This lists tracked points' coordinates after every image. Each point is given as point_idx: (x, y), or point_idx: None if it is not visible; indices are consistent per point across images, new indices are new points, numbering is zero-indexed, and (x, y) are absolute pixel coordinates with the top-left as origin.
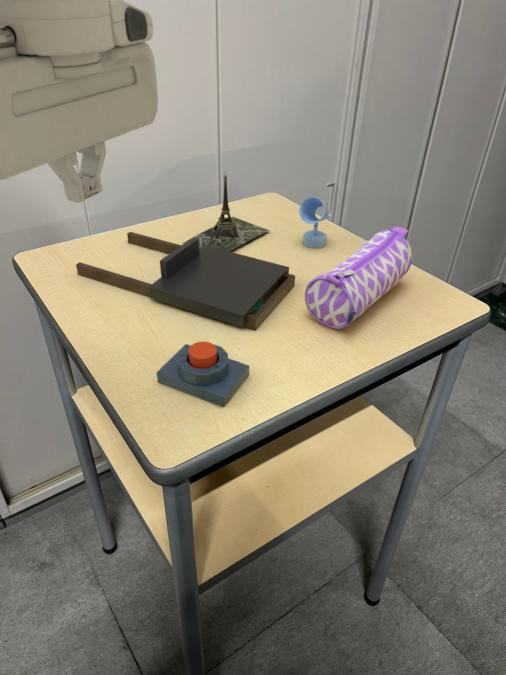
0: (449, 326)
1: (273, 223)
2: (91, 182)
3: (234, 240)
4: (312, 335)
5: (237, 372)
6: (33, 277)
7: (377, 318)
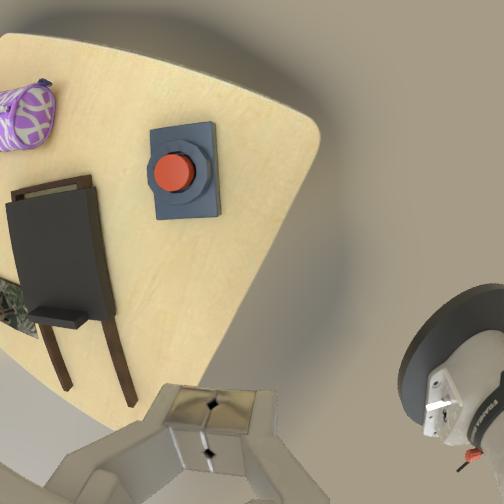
0: (22, 38)
1: None
2: (196, 417)
3: (6, 292)
4: (71, 118)
5: (166, 133)
6: None
7: None
